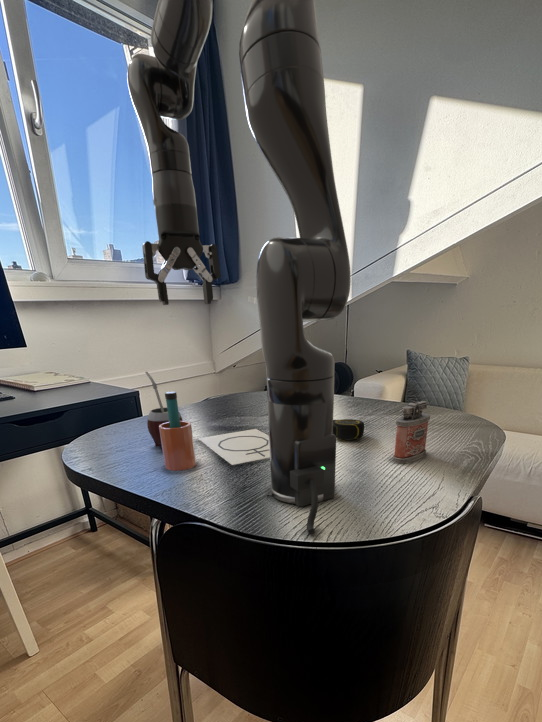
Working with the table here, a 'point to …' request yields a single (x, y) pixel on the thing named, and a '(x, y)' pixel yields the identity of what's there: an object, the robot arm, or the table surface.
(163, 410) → the mate gourd
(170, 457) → the pen cup
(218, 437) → the sketch pad
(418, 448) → the lighter
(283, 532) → the table surface
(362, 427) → the tape measure
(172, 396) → the pen
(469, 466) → the table surface
